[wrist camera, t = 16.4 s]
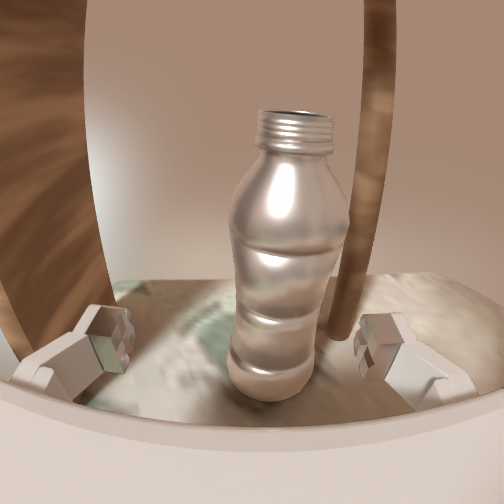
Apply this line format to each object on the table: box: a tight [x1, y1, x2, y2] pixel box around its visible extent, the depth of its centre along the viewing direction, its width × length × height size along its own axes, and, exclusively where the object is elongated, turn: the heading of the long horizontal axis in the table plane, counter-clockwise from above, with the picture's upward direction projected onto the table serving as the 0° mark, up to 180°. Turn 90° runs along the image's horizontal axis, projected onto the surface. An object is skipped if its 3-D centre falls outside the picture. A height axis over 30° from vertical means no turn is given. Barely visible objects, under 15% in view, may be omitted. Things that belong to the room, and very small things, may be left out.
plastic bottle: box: [226, 109, 350, 402], centre depth 19 cm, size 6×7×20 cm
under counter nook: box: [0, 0, 396, 404], centre depth 16 cm, size 27×13×34 cm, turn 90°
